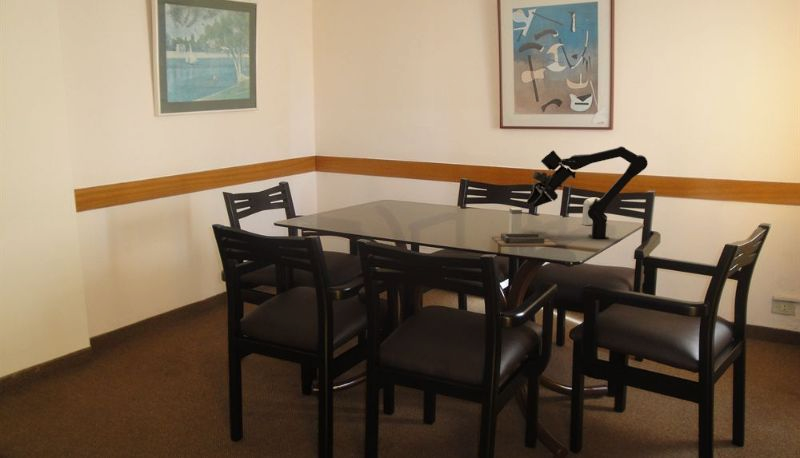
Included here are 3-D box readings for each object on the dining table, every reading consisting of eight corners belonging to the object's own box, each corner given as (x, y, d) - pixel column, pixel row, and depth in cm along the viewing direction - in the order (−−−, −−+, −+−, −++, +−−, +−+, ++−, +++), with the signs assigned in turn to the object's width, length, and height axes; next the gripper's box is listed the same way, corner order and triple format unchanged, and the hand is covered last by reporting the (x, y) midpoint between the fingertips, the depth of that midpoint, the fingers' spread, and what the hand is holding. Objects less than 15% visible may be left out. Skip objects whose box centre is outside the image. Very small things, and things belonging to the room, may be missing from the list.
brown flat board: (556, 246, 275) (557, 240, 274) (501, 246, 273) (501, 240, 272) (544, 237, 291) (545, 231, 290) (492, 237, 289) (492, 231, 288)
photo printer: (595, 222, 328) (597, 196, 326) (603, 224, 325) (605, 197, 322) (580, 224, 323) (582, 197, 320) (587, 226, 319) (589, 198, 317)
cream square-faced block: (520, 235, 294) (522, 209, 292) (511, 235, 294) (512, 209, 292) (517, 233, 299) (519, 207, 297) (508, 233, 299) (509, 207, 296)
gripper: (538, 162, 301) (512, 188, 302) (551, 167, 283) (523, 194, 284) (555, 181, 303) (529, 206, 304) (569, 187, 285) (541, 213, 286)
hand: (530, 204), depth 295 cm, fingers open, 9 cm apart
